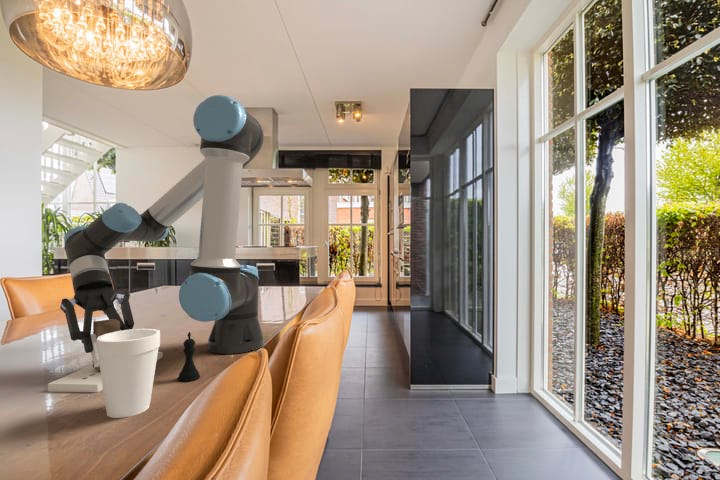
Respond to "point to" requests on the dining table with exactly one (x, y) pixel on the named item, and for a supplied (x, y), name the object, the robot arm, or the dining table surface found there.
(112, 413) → the foam cup
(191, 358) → the chess piece
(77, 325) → the robot arm
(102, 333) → the stub
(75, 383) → the white perforated board
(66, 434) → the dining table surface
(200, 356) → the dining table surface
